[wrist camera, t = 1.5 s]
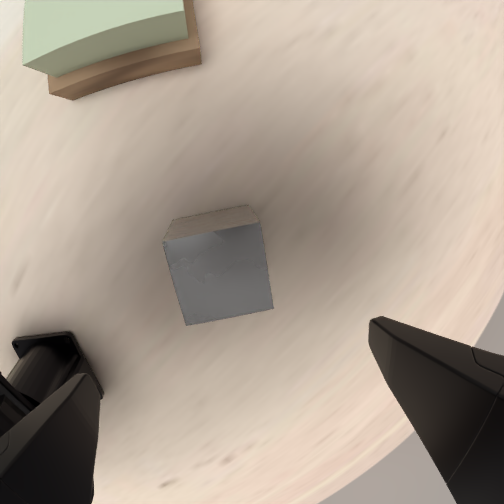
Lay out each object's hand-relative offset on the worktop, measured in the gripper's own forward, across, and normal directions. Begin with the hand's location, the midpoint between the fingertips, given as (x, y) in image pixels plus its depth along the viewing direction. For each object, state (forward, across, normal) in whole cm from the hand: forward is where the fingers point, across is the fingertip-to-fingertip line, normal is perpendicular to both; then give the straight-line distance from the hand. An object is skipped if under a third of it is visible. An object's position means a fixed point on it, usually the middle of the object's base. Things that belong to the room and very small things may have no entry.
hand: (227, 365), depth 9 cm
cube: (+11, 0, 0) cm, 11 cm away
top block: (+8, +3, -15) cm, 17 cm away
